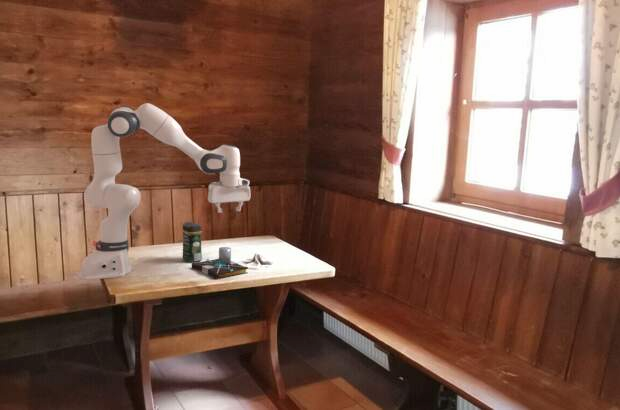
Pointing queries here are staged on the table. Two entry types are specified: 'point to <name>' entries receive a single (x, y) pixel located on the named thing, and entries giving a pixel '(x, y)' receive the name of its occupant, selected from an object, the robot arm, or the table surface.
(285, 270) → the table surface
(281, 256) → the table surface
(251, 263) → the cloth
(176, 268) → the table surface
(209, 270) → the book
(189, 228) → the coffee jar
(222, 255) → the grey short cylinder
